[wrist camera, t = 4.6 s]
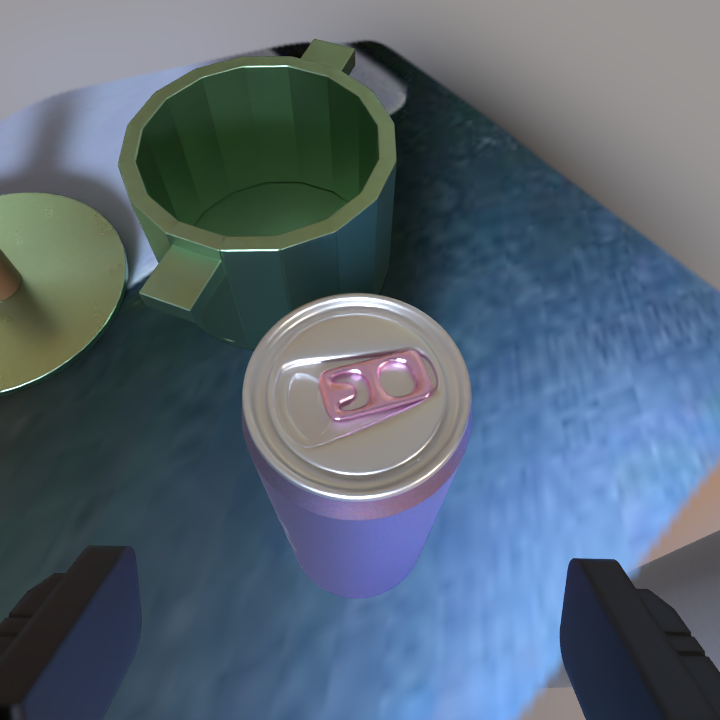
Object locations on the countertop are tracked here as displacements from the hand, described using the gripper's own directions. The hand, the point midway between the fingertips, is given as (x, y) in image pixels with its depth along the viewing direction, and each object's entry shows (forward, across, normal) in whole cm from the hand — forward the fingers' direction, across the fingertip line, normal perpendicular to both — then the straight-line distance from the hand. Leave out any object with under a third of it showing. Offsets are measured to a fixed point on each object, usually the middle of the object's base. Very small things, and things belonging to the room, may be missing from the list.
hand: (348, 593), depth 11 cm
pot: (+26, +5, -3) cm, 27 cm away
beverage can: (+15, 0, +8) cm, 17 cm away
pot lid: (+24, +20, -1) cm, 31 cm away
